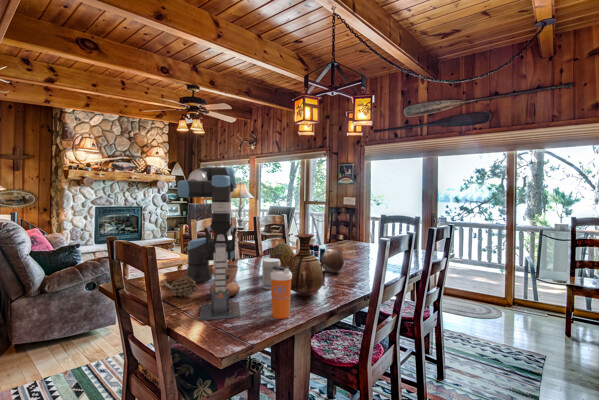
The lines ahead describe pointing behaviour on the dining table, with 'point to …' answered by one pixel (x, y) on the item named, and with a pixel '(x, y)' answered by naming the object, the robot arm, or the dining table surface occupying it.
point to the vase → (305, 269)
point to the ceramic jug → (229, 280)
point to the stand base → (220, 307)
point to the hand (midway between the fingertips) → (220, 267)
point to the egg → (282, 254)
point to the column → (220, 268)
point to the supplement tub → (268, 271)
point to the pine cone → (182, 286)
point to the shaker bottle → (280, 291)
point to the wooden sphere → (332, 260)
